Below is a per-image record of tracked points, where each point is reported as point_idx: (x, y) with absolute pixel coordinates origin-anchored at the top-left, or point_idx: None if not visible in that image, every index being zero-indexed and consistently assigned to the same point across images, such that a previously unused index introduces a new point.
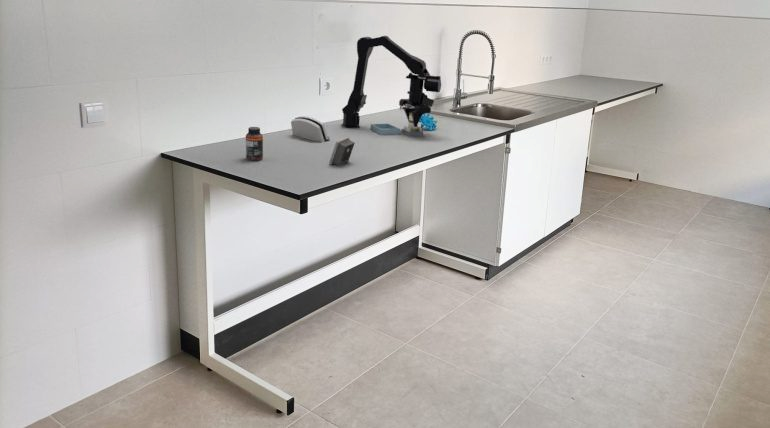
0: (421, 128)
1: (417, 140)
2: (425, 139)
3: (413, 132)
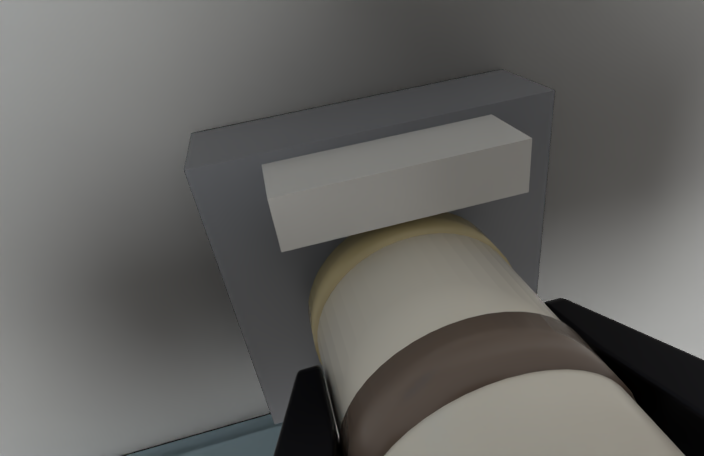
0: (527, 145)
1: (683, 233)
2: (686, 97)
3: (534, 288)
